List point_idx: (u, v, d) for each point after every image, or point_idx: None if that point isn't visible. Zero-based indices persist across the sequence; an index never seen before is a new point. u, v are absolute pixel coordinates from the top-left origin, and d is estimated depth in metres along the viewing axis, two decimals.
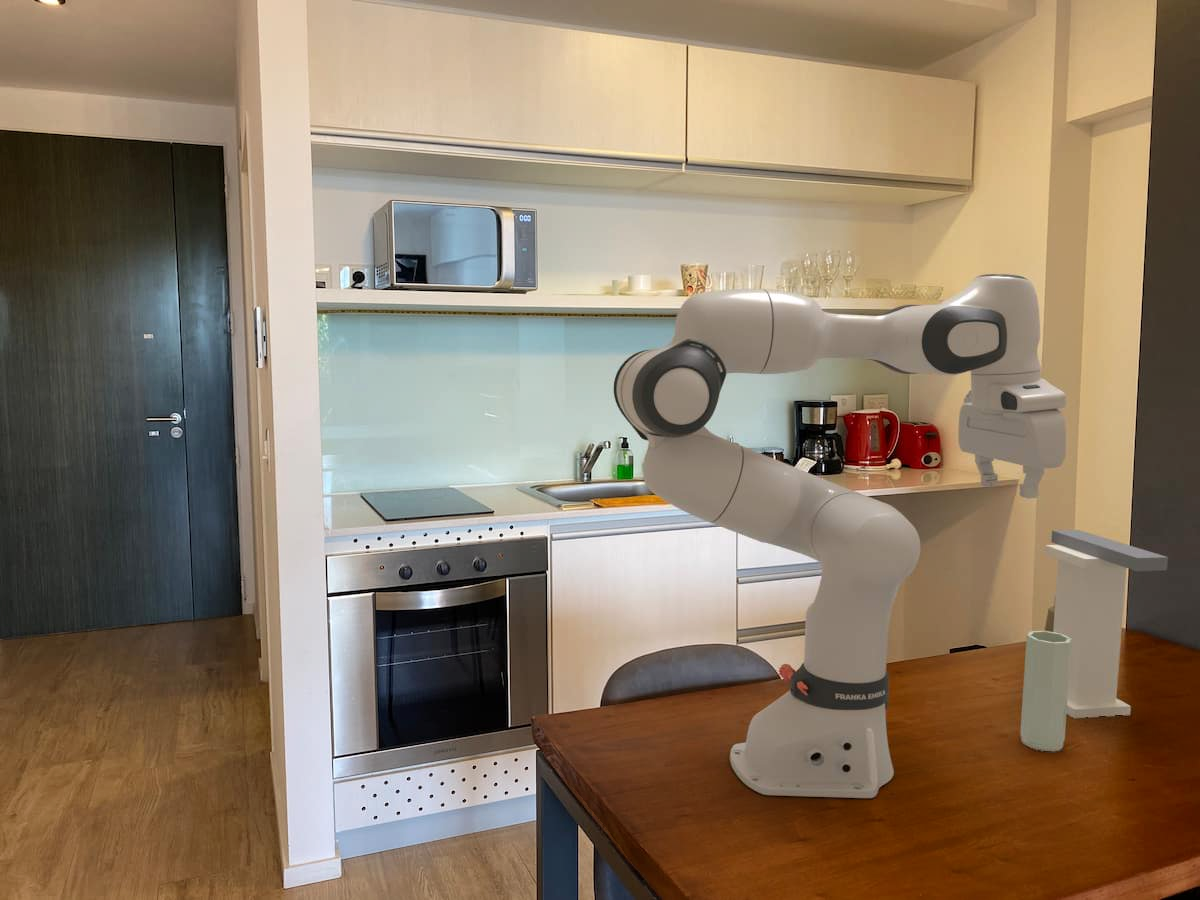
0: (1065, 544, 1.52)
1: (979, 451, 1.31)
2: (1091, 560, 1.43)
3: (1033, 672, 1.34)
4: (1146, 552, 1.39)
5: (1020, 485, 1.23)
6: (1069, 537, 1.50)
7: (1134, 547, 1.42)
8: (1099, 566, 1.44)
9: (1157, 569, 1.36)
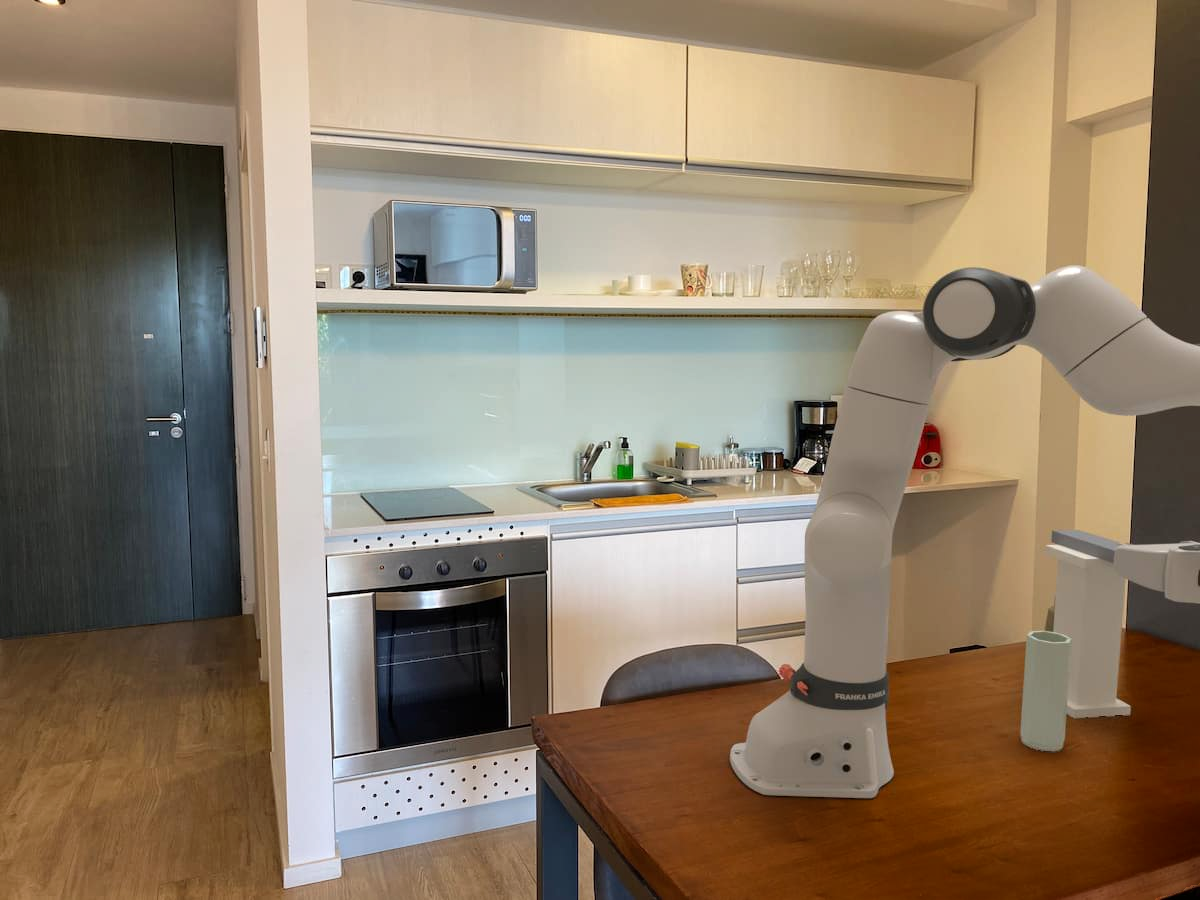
0: (1065, 544, 1.52)
1: None
2: (1091, 560, 1.43)
3: (1033, 672, 1.34)
4: None
5: (1134, 545, 1.22)
6: (1069, 537, 1.50)
7: None
8: (1099, 566, 1.44)
9: None
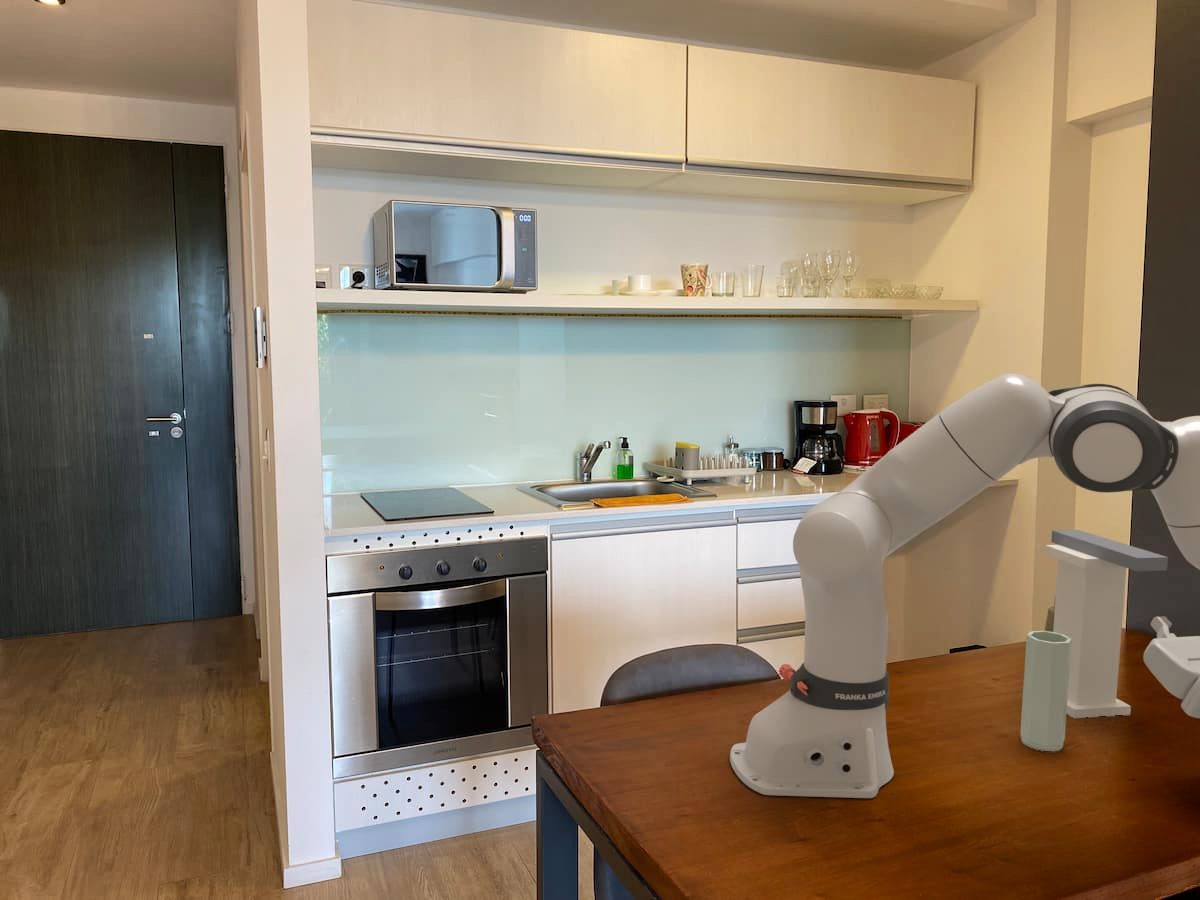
0: (1065, 544, 1.52)
1: None
2: (1091, 560, 1.43)
3: (1033, 672, 1.34)
4: (1146, 552, 1.39)
5: (1170, 623, 1.27)
6: (1069, 537, 1.50)
7: (1134, 547, 1.42)
8: (1099, 566, 1.44)
9: (1157, 569, 1.36)
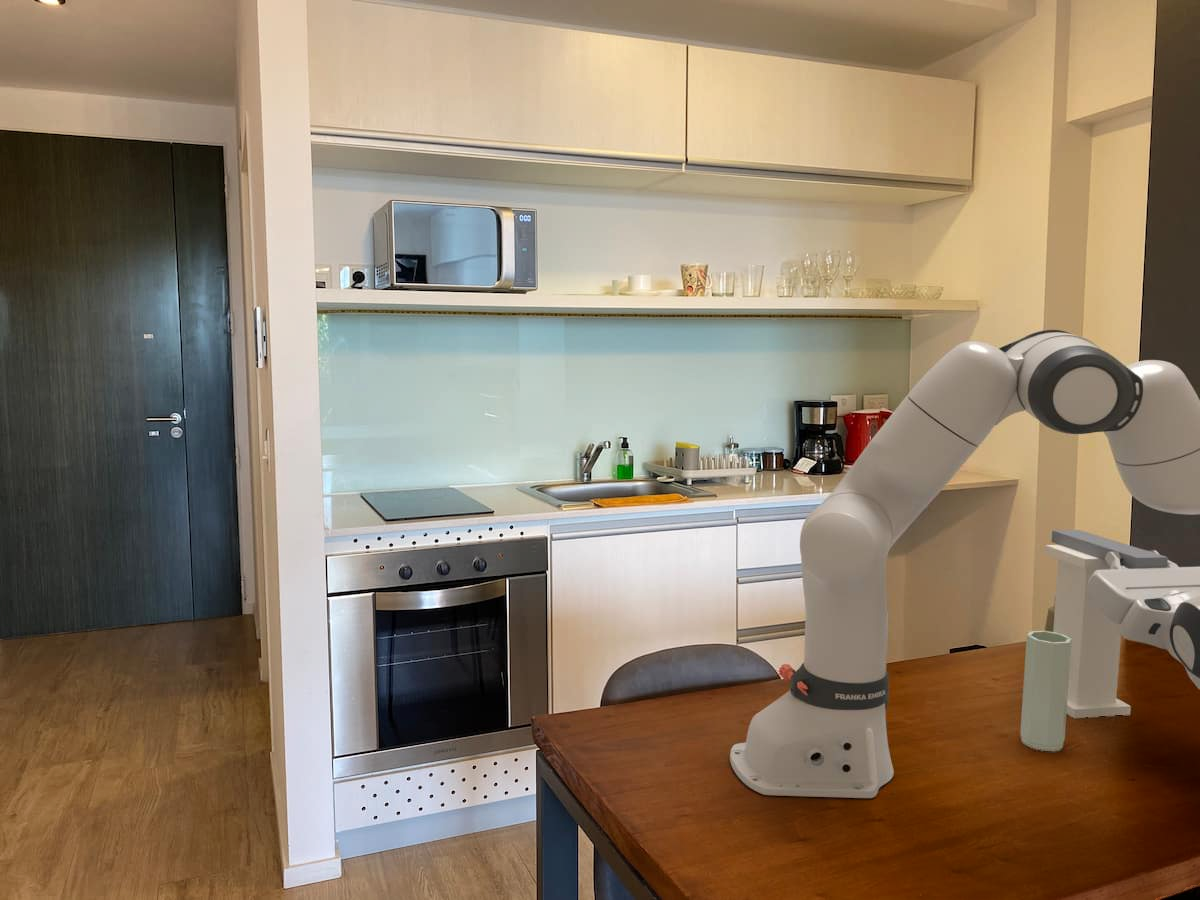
0: (1065, 543, 1.52)
1: (1180, 569, 1.36)
2: (1091, 560, 1.43)
3: (1033, 672, 1.34)
4: (1146, 552, 1.39)
5: (1122, 557, 1.38)
6: (1069, 537, 1.50)
7: (1134, 547, 1.42)
8: (1099, 566, 1.44)
9: None
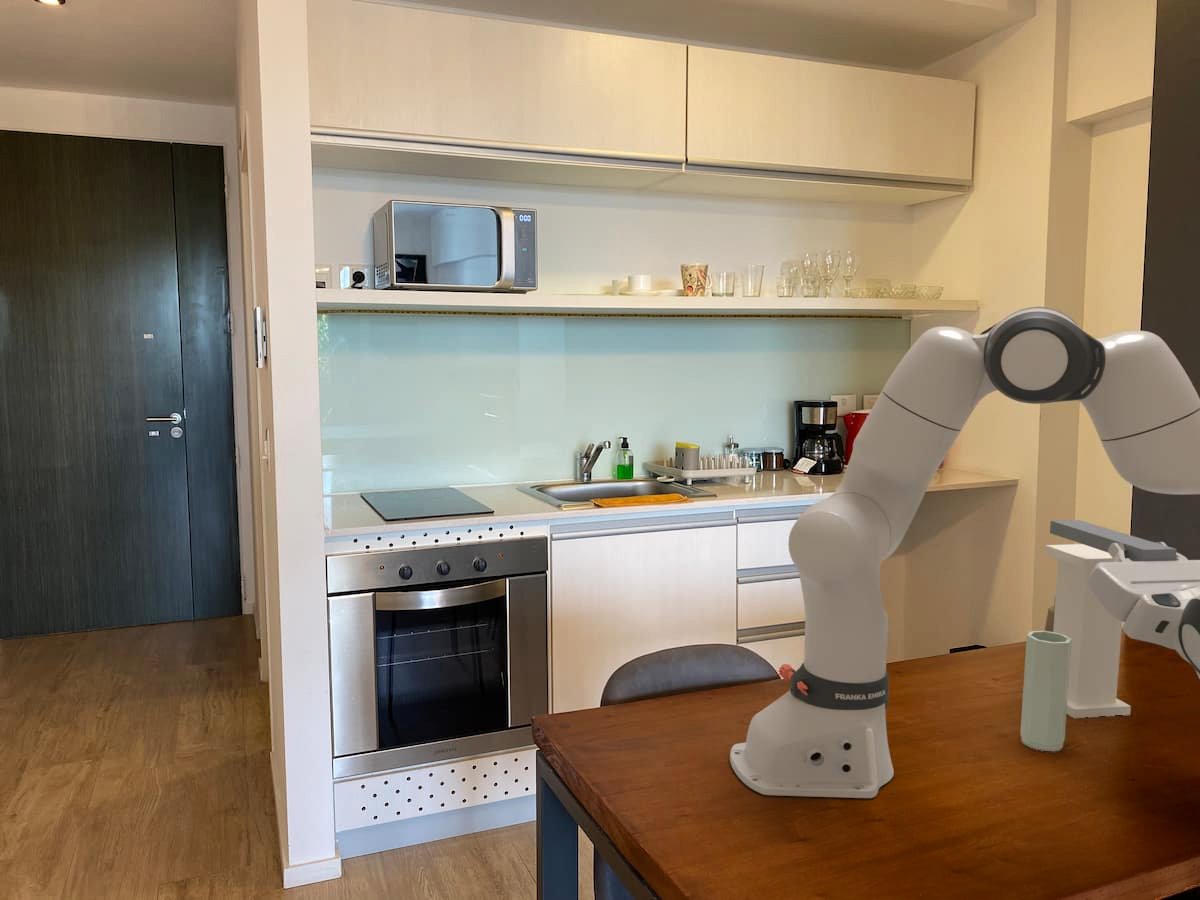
0: (1064, 535, 1.40)
1: (1189, 562, 1.25)
2: (1091, 560, 1.43)
3: (1033, 672, 1.34)
4: (1153, 544, 1.28)
5: (1126, 549, 1.27)
6: (1069, 527, 1.39)
7: (1140, 538, 1.31)
8: None
9: None
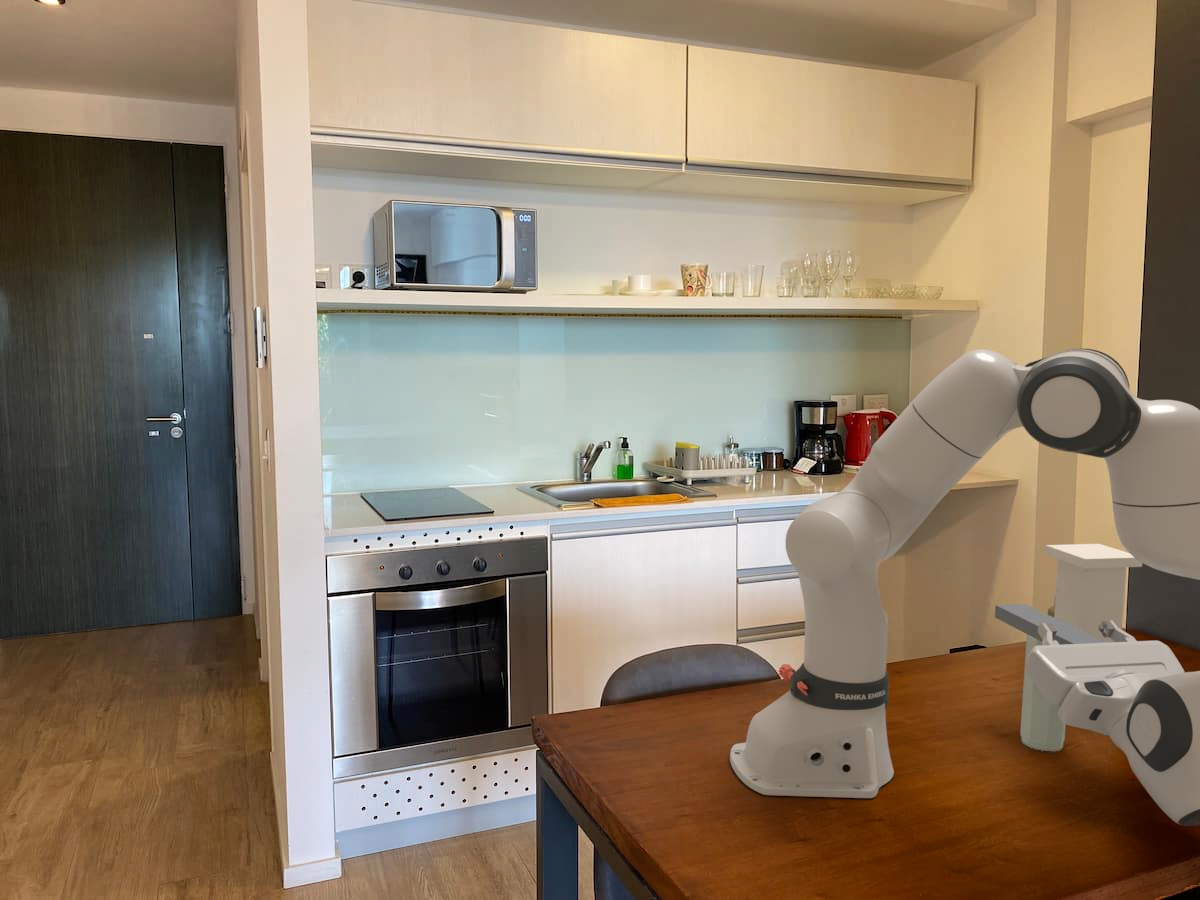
0: (1008, 621, 1.40)
1: (1127, 644, 1.24)
2: (1091, 560, 1.43)
3: None
4: (1091, 638, 1.28)
5: (1055, 630, 1.27)
6: (1012, 614, 1.39)
7: (1079, 630, 1.31)
8: (1099, 566, 1.44)
9: None
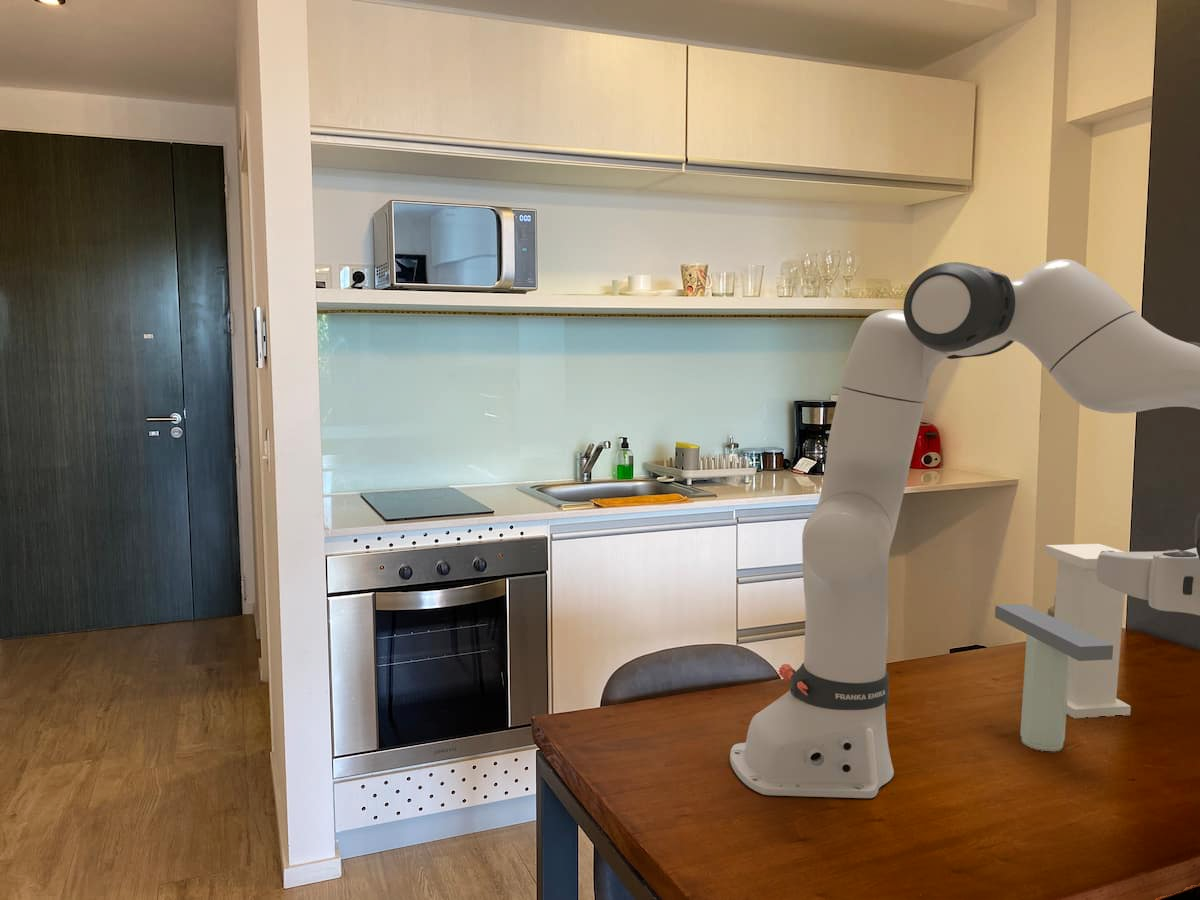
0: (1008, 621, 1.40)
1: None
2: (1091, 560, 1.43)
3: (1033, 672, 1.34)
4: (1091, 638, 1.28)
5: None
6: (1012, 614, 1.39)
7: (1079, 630, 1.31)
8: None
9: (1101, 658, 1.25)
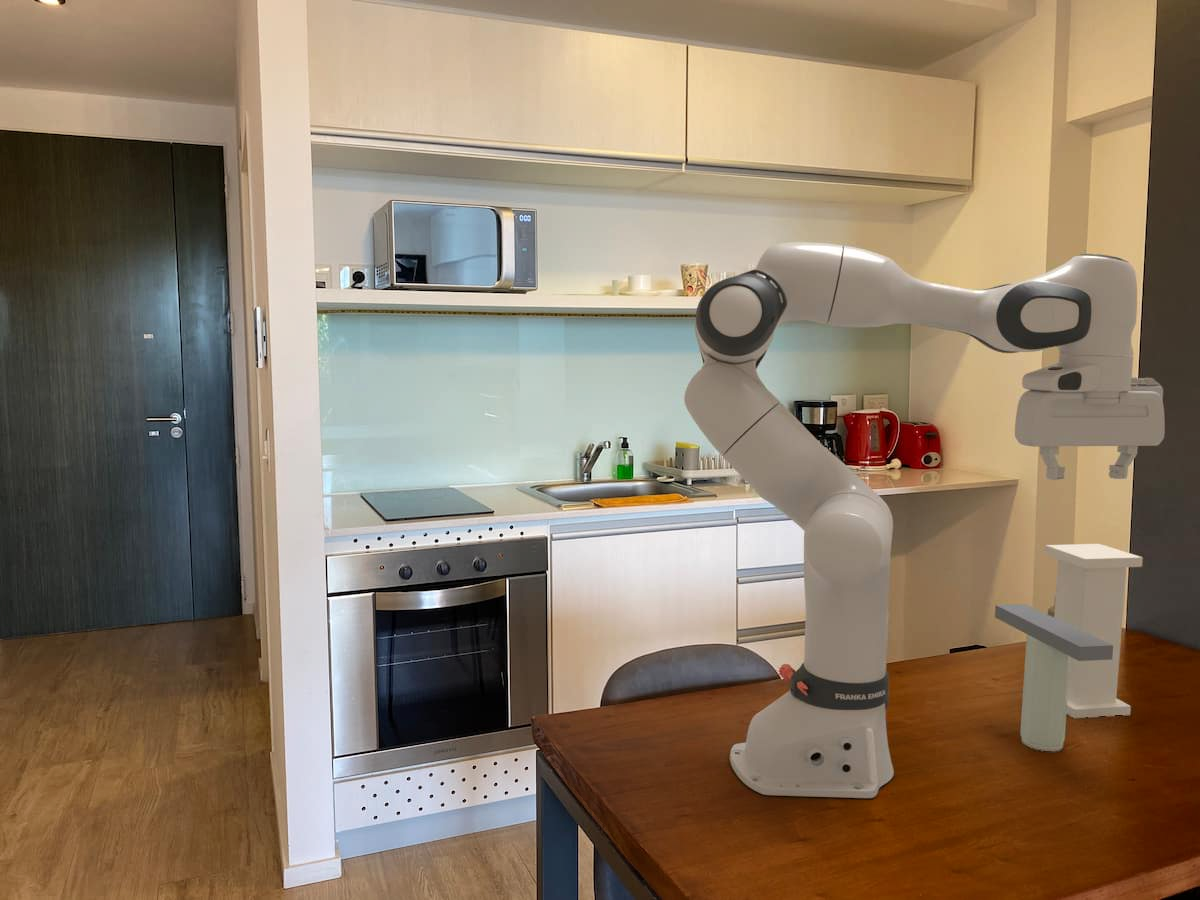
0: (1008, 621, 1.40)
1: None
2: (1091, 560, 1.43)
3: (1033, 672, 1.34)
4: (1091, 638, 1.28)
5: None
6: (1012, 614, 1.39)
7: (1079, 630, 1.31)
8: (1099, 566, 1.44)
9: (1101, 658, 1.25)
